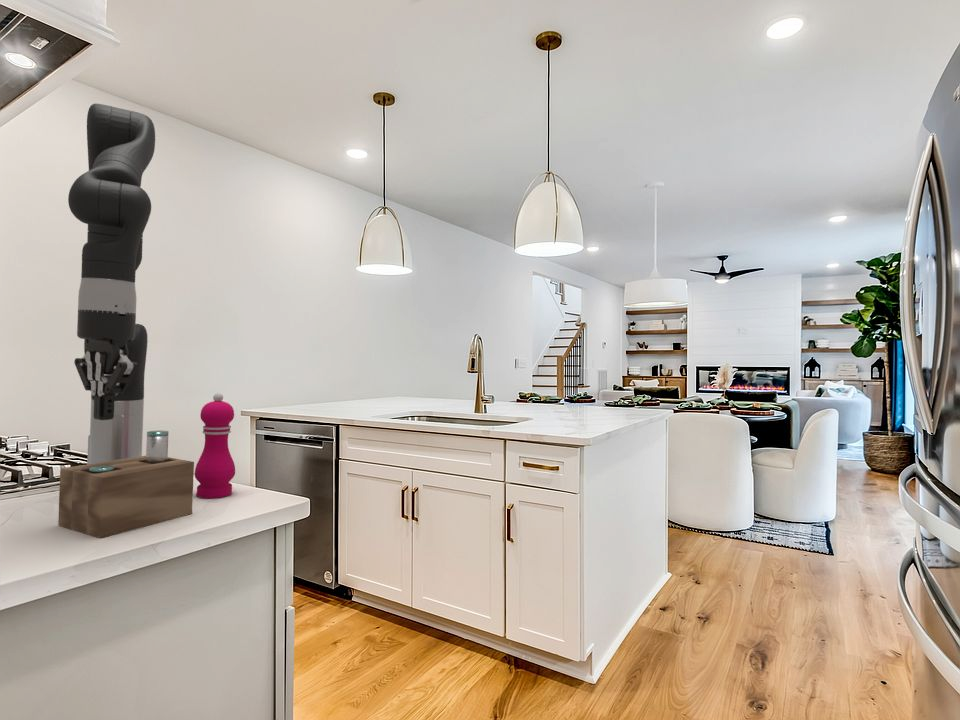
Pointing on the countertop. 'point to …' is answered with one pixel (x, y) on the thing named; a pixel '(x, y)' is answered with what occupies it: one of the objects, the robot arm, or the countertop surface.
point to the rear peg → (157, 447)
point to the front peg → (101, 469)
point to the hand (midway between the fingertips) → (103, 419)
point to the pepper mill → (215, 450)
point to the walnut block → (124, 495)
